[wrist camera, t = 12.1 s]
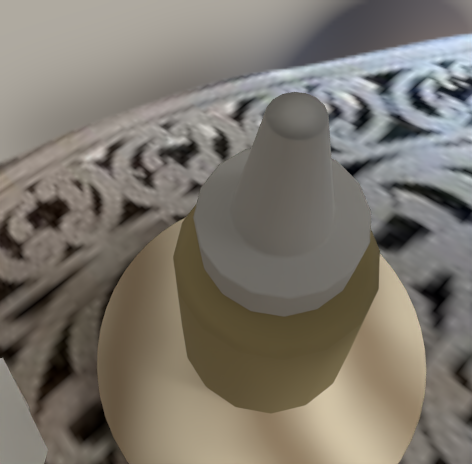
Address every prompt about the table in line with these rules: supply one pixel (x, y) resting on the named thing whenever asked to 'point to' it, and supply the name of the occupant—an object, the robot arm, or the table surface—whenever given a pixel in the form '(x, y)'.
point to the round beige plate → (244, 420)
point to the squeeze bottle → (276, 264)
